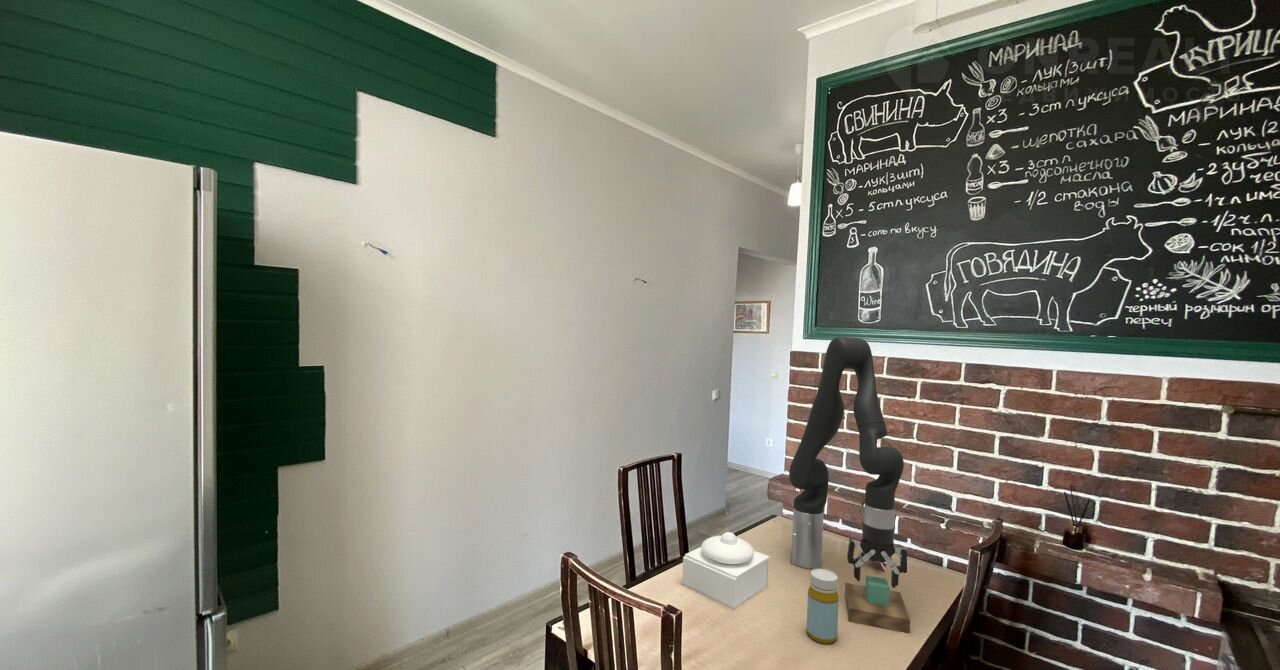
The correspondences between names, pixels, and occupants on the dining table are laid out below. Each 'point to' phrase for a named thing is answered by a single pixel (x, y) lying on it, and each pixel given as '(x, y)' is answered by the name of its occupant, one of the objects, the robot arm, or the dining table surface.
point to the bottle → (822, 606)
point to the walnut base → (876, 610)
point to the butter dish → (726, 570)
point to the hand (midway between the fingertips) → (875, 582)
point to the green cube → (877, 591)
